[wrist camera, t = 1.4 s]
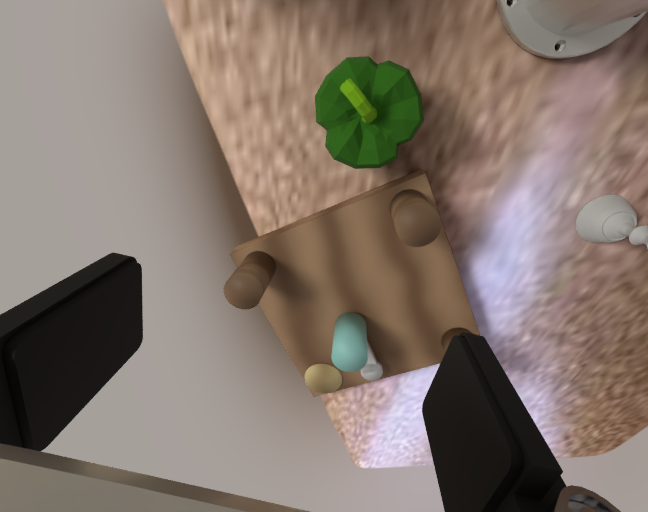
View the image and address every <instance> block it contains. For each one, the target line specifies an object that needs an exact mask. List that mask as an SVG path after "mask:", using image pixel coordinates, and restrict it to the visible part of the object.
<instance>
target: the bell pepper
mask: <svg viewBox="0 0 648 512" xmlns="http://www.w3.org/2000/svg"><path fill="white" fill-rule="evenodd" d="M315 105H316V122H317V123H318V124H320V125H321V126H322V127H324V128H325V129H326V130H327V135H326V143H325V146H326V148H327V149H328V151H329V153H330V154H331V156H332V157H333V159H335V160H337V161H339V162H342V163H344V164H346V165H348V166H351V167H353V168H355V169H359V168H380V167H382V166H384V165H386V164H388V163H390V162H391V161H393V160H395V159H397V153H398V145H400V144H403V143H405V142H408V141H410V140H411V139H412V137H413V136H414V134H415V133H416V131H417V130H418V128H419V127H420V125H421V124H422V122H423V121H424V118H423V109H422V100H421V94H420V92H419V90H418V87H417V85H416V83H415V81H414V79H413V77H412V75H411V73H410V71H409V69H407V68H405V67H402V66H400V65H398V64H395V63H393V62H391V61H386V62H383V63H380V64H376V63H375V62H374V61H373V60H372V59H371V58H370V57H369V56H368V57H352V58H346V59H345V60H344V61H342V62H341V63H340V64H339V65H338V66H337V67H336V68H335V69H334V70H332V71H331V72H330V73H329V74H328V75H327V76H326V77H325V79H324V81H323V83H322V85H321V86H320V88H319V90H318V92H317V94H316V95H315Z"/></svg>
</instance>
